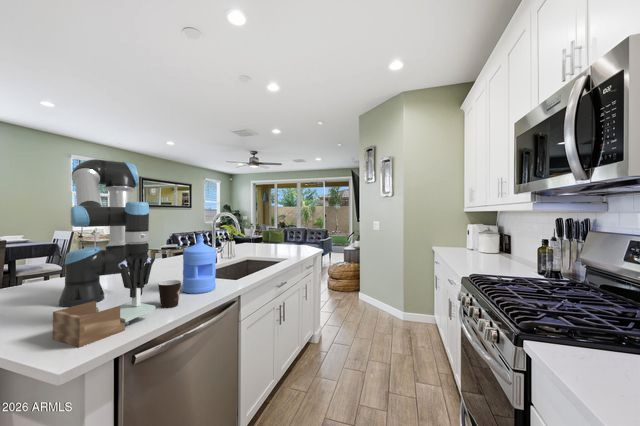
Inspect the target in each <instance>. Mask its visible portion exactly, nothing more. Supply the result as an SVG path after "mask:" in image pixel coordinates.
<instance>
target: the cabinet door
mask: <svg viewBox="0 0 640 426" xmlns="http://www.w3.org/2000/svg"><path fill="white" fill-rule="evenodd" d="M118 306H119V307H120V322H123V323H125V326H128V325H129V324H130V321H132V320H135V319H136V318H138V317H141V316H142V315H145V314H147V313H149V312H152V311H154V310H156V305H152V304H146V303H143V302H140V306H132V300H130V301H127V302H125V303H121V304H119V305H118Z"/></svg>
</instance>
